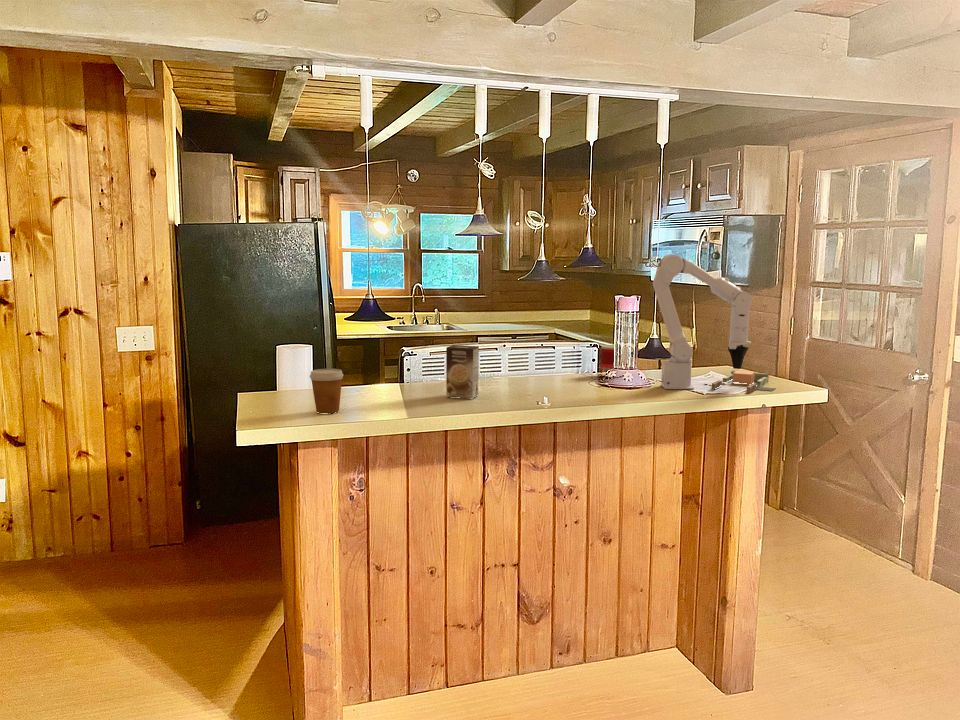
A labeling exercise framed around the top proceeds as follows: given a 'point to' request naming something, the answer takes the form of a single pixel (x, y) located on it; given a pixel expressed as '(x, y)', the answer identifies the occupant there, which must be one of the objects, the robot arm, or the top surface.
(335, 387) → the disposable coffee cup
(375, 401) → the top surface
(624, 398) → the top surface
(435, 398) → the top surface
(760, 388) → the trap pads
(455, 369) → the coffee box
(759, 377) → the trap lane
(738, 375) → the block
